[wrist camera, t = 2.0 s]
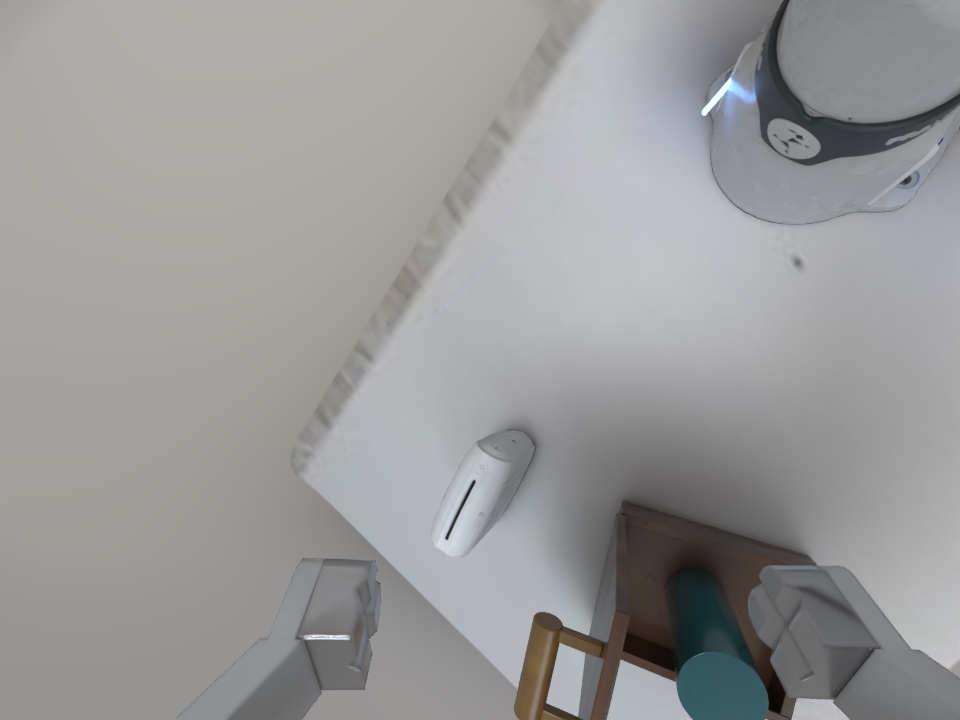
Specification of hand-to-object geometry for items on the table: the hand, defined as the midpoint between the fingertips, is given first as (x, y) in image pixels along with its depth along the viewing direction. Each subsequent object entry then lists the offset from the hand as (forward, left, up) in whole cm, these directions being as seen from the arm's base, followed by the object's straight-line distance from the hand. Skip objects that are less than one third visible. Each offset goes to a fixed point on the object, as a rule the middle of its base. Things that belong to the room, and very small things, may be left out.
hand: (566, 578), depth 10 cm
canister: (+8, +15, -36) cm, 40 cm away
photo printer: (+13, -5, -37) cm, 39 cm away
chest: (+8, +15, -36) cm, 40 cm away
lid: (+11, +9, -24) cm, 28 cm away
